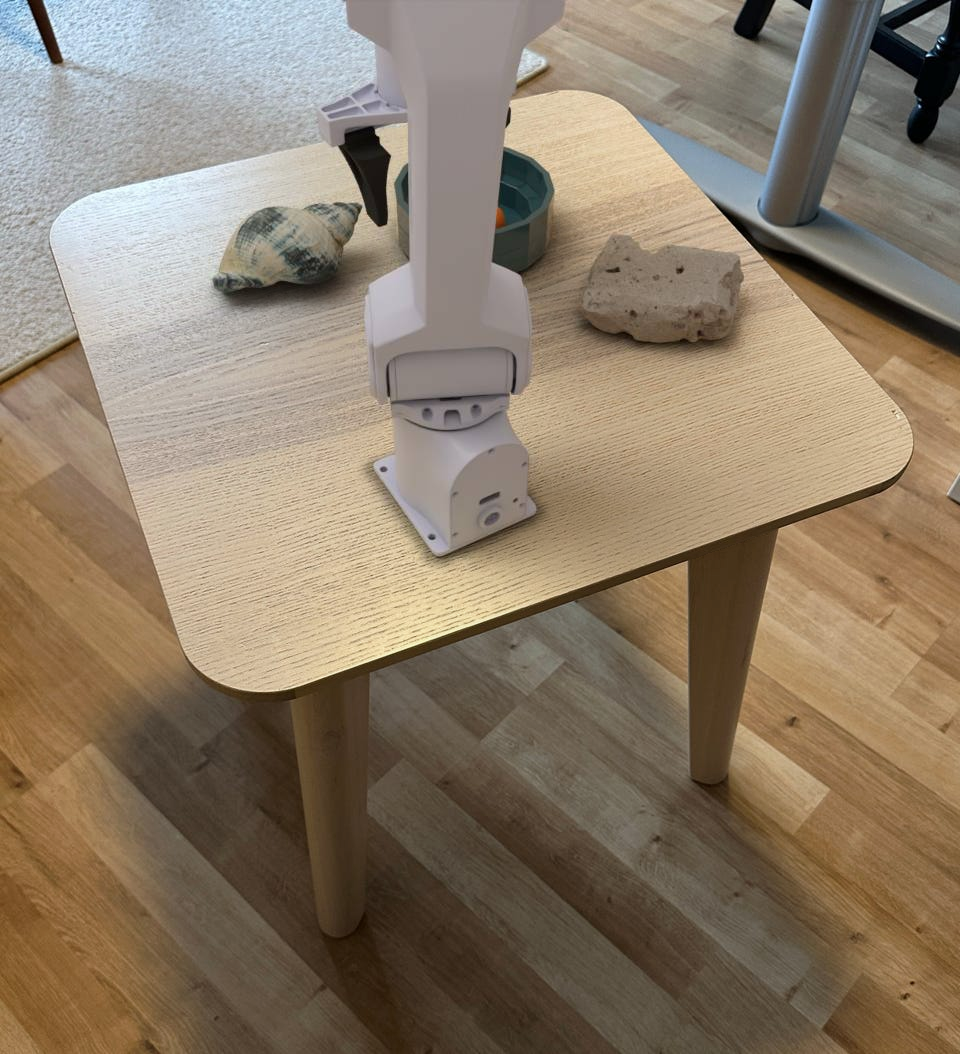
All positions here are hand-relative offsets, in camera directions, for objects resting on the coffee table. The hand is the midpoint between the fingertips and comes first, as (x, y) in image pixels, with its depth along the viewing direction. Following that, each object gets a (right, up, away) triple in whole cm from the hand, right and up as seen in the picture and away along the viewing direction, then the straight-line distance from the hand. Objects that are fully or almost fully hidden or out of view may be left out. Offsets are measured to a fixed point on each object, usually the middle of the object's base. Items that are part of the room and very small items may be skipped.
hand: (422, 204), depth 81 cm
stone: (+19, -7, +7) cm, 21 cm away
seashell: (-11, -3, +9) cm, 15 cm away
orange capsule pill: (+4, +2, +13) cm, 13 cm away
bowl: (+4, +1, +13) cm, 14 cm away
